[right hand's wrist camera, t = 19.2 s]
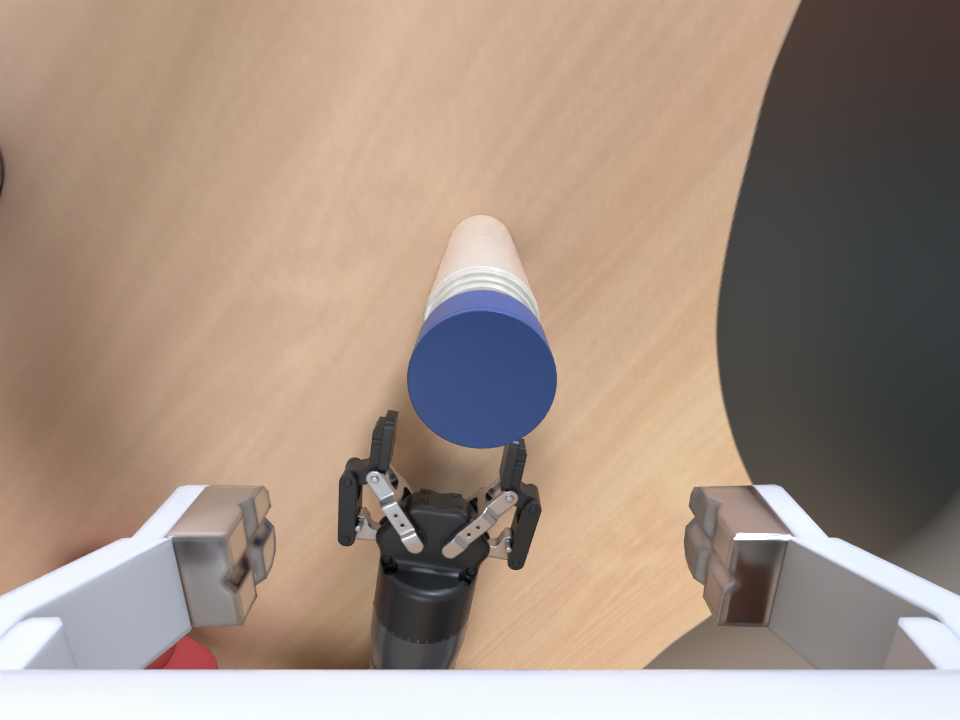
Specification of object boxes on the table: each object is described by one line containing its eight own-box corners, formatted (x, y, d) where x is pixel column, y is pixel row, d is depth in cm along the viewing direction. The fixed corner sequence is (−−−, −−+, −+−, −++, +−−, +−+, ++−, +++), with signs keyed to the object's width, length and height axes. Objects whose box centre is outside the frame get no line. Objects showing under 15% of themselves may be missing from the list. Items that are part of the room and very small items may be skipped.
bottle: (444, 274, 42) (396, 434, 18) (453, 209, 40) (414, 291, 16) (507, 284, 42) (542, 455, 18) (518, 220, 40) (573, 316, 17)
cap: (409, 402, 20) (399, 438, 17) (425, 279, 18) (416, 299, 16) (533, 421, 20) (540, 458, 18) (559, 300, 19) (571, 323, 16)
